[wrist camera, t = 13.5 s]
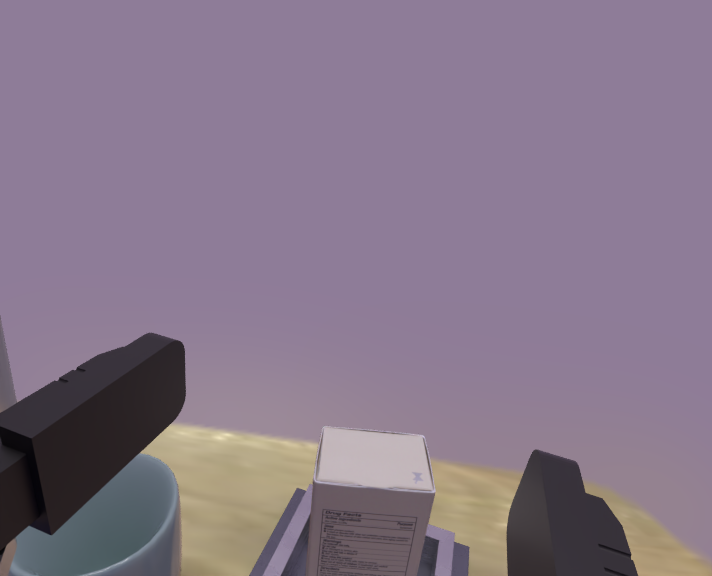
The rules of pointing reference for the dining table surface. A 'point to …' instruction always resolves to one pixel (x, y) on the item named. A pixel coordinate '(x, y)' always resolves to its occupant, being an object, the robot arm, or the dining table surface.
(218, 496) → the dining table surface
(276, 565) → the tray
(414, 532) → the skincare box
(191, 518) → the dining table surface
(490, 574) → the dining table surface
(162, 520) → the cup
